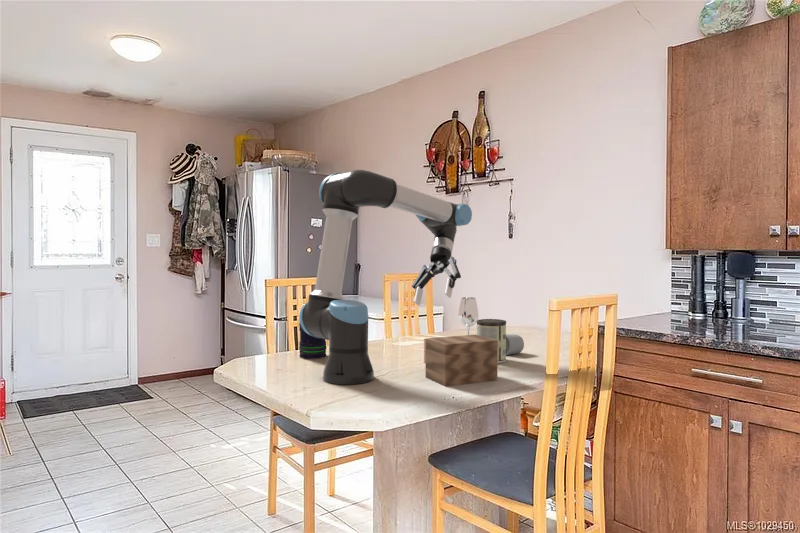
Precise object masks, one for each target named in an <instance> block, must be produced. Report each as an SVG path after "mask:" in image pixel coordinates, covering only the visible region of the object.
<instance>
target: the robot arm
mask: <svg viewBox="0 0 800 533" xmlns="http://www.w3.org/2000/svg"><path fill="white" fill-rule="evenodd" d="M318 198H319V200H320V201H321V204H322V212H323V214H324V215H325V222H324V228H323V235H322V236H323V237H322V242H321V249H320V255H319V259H318V260H319V261H318V267H317V274H316V280H315V286H314V290H313V291H311V292H309V294H308V299H307V302H305V303H304V305H302V306H301V308H300V310H299V318H298V320H300V322H299V323H300V324H301V327H302V328H303V330H304V331H305V332H306V333H307V334H309V335H311V336H313V337H315V338H322V339H326V341H329V342H328V345H329V346H328V347H329V352H328V356H327V360H326V362H325V366H324V369H323V374H322V375H323V376H322V377H323V378H322V379H323V381H325V382H327V383H331V384H334V385H335V384H336V385H359V384H364V383H365V384H366V383H369V382H371V381H373V380H374V378H375V376H374V375H375V374H374V373H375V372H374V368H373V365H372V362H371V359H370V355H369V318H370V316H369V310H368V309H369V308H368V306H367V304H365V303H364V302H362V301H358V300H354V299H353V300H352V299H346V298H345V297H344V295H343V294H342V291H343V286H344V278H345V272H346V271H345V270H346V265H347V259H348V254H349V253H348V252H349V247H350V246H349V245H350V240H351V239H350V238H351V233H352V225H353V221H354V220H356V219H357V218H358V216H359V211H360V208H362V207H363V208H364V207H377V208H382V209H388V208H392V209H397V210H400V211H403V212H406V213H411V214H414V215H415V217H416V218H417V219H418V220H419V222H421V223H422V224H423V226H425V228H427V229H428V230H429V231H430V233H432V234H433V235H434V237H433V244H432V247H431V253H430V256H429V261H430V264H429V265H426V264H423V265H422V268H421V270H420V272H419V274H418V275H417V277H416V279H415V280H414V282H413V284H412V285H411V287H412V288H413V289H414V290H415V291H414V300H413V302H414V304H416V305H417V306H418V307H419V306H421V302H422V297H423V292H424V290H423V289H424V288H425V286H426V285H427V284H428V283H429V282H430V280H432V278H434V277H435V276H436V275H439V274H442V273H444V272H445V273H446V275H447V276H448V277H447V278H446V284H445V290H444V294H445V296H447V297H448V298H452V294H453V289H454V288H455V285H456V284H455V283H456V281H457V280H458V279H461V278H462V276H461V275H462V274H461V272H460V270H459V268H458V265H457V259H455V258H456V257H454V256H452V253H453V248H454V243H455V238H456V234H457V227H461V226H467V225H469V224H470V223H471V221H472V217H473V210H472V209H471V207H470V206H469V205H468V204H465V203H453V202H452V201H451V202H450V201H447V200H444V199H441V198H438V197H436V196H433V195H430V194H426V193H424V192H420V191H418V190H415V189H412V188H410V187H406V186H403V185H400V184H397V181H396V180H394V178H391V177H387V176H385V175H381V174H379V173H376V172H373V171H370V170H364V169H354V170H350V171H343V172H335V173H333V174H330V175H328V176H327V177H325V178H324V179H323V180H322V182H321V183H320V186H319V189H318ZM449 265H450V266H451V269H452V272H453V273H452V272H451V270H449V269H448V267H449Z"/></svg>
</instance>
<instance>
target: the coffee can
mask: <svg viewBox="0 0 800 533" xmlns="http://www.w3.org/2000/svg"><path fill="white" fill-rule="evenodd" d="M506 334H507V320H505V319H498V318H497V319H496V318H484V319H483V318H481V319H478V320H477V322H476V335H479V336H483V337H487V338H491V339H494V340H498V359H497V364H503V363H505V362H507V358H506V357H507V355H506Z"/></svg>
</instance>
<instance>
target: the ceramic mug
mask: <svg viewBox="0 0 800 533" xmlns="http://www.w3.org/2000/svg"><path fill="white" fill-rule="evenodd" d="M524 348H525V342H524V339H523V337H522V336H521V335H518V334H515V333H514V334H512V333H511V334H507V333H506V356H511V355H517V354H520V353H522V351H523V350H524Z"/></svg>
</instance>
